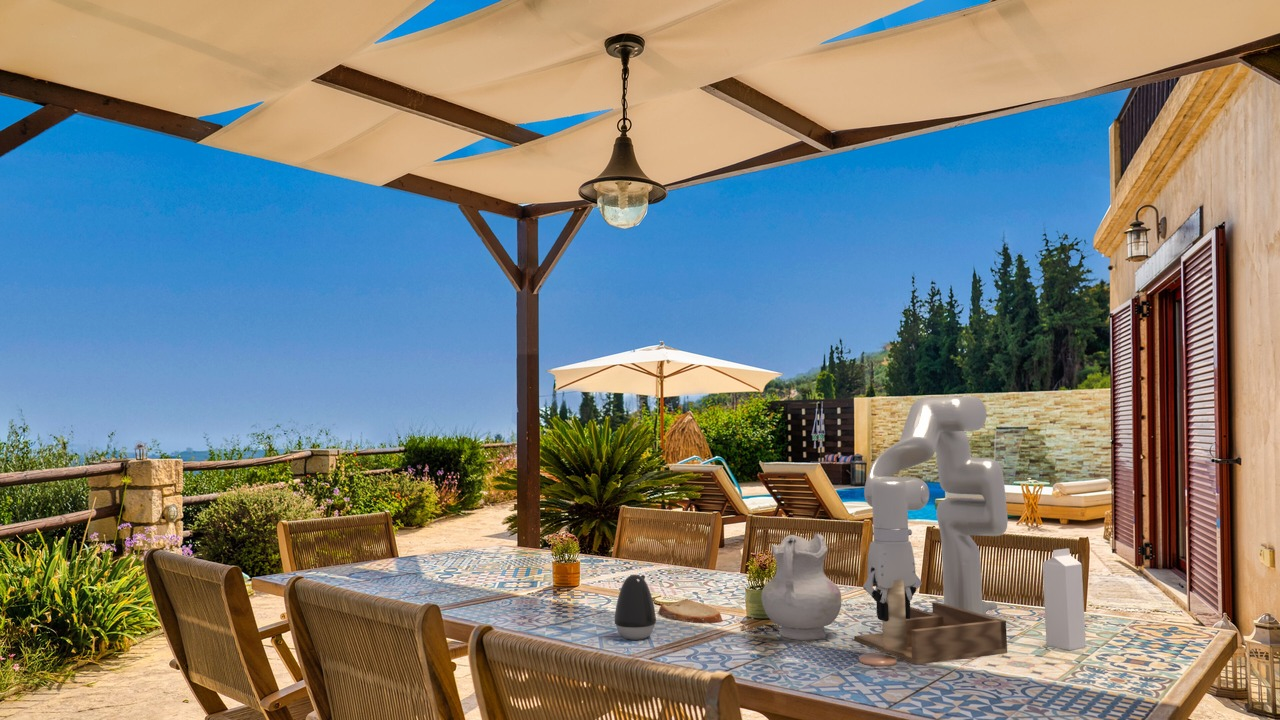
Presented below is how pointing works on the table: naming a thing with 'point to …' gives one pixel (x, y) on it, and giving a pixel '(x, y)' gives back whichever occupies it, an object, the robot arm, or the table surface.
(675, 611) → the bread slice
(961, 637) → the channel board
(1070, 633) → the milk
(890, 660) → the pad
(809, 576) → the ceramic pitcher
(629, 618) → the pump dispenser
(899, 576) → the robot arm
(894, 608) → the beech peg
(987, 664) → the table surface
